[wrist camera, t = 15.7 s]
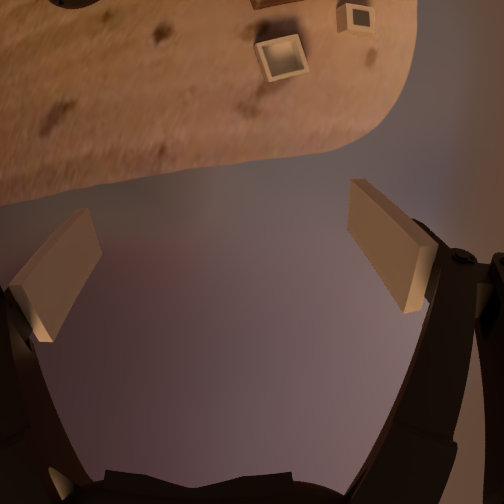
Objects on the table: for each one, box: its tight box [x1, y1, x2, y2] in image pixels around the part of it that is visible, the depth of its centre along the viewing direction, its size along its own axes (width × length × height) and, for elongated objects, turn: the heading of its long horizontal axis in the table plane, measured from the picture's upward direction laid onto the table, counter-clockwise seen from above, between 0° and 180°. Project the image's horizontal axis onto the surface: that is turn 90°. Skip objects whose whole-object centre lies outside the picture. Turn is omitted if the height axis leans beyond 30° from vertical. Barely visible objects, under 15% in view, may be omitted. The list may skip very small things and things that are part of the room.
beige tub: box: [254, 34, 310, 82], centre depth 38 cm, size 6×6×4 cm
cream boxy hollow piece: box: [336, 3, 376, 36], centre depth 35 cm, size 5×4×5 cm
